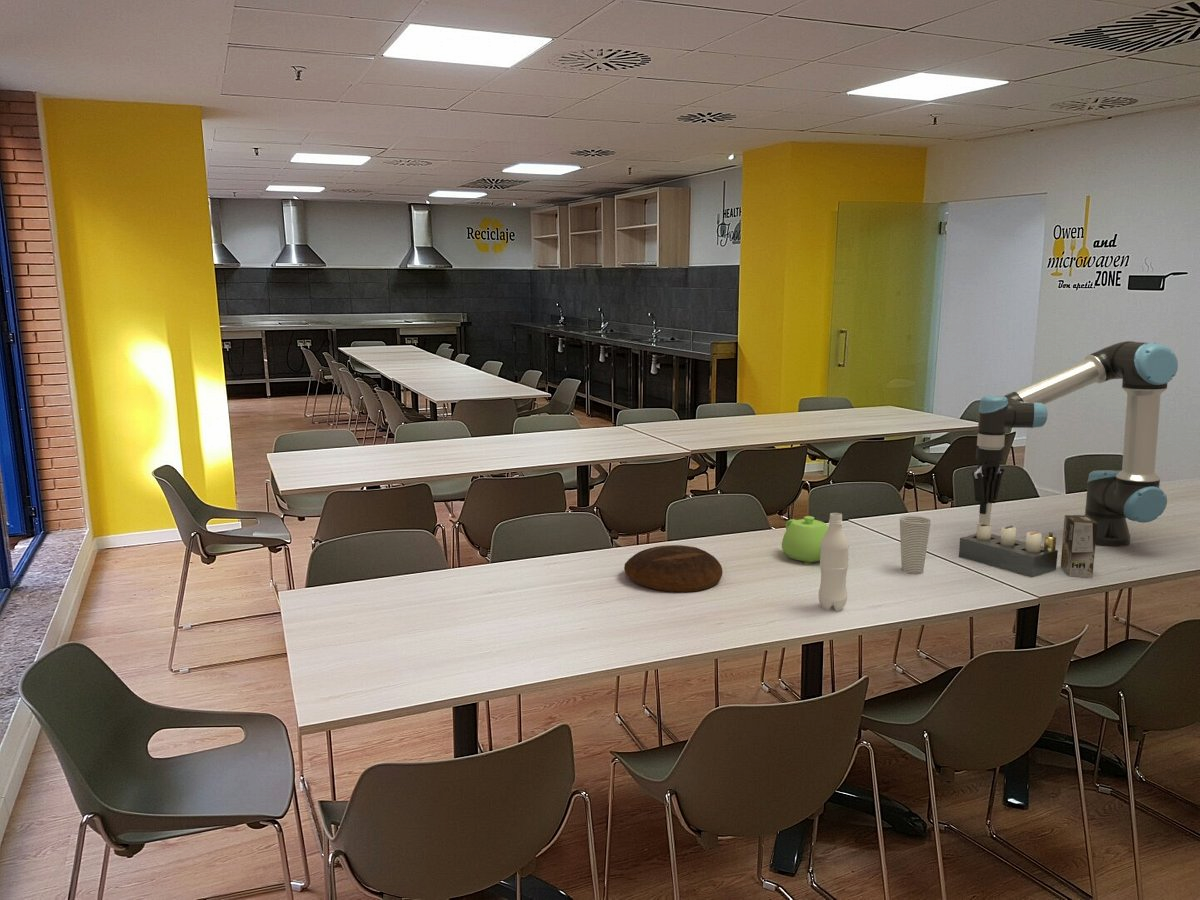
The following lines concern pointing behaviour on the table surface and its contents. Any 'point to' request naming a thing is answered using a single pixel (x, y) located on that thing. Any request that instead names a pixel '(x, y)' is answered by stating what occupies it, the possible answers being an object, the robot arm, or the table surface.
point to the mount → (1007, 555)
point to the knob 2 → (1008, 536)
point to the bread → (674, 568)
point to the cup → (913, 543)
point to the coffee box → (1078, 545)
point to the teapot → (804, 539)
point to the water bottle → (834, 565)
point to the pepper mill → (1050, 542)
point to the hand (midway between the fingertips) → (984, 523)
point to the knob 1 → (984, 532)
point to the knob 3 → (1033, 542)
